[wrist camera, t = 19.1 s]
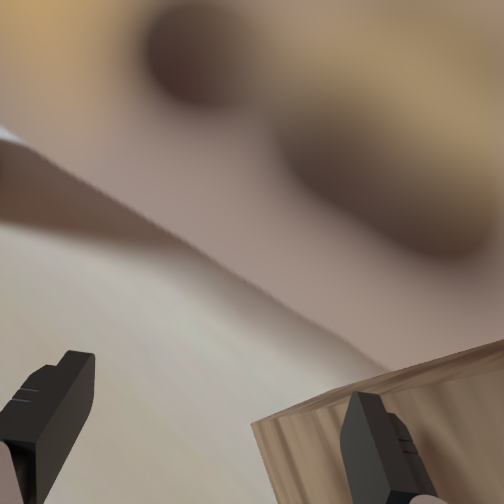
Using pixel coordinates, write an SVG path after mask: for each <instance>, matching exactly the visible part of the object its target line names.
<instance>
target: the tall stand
mask: <svg viewBox="0 0 504 504" xmlns="http://www.w3.org/2000/svg"><path fill="white" fill-rule="evenodd" d="M354 391H359V392H366V393H373V394H378V395H379V396H380V397H381V400H382V402H383V404H384V407H385V409H386V412H388V413H395V414H396V416H397V417H398V418H399V419H400V420H401V421H402V422H403V423H404V424H405V425H406V426H407V428H408V431H409V433H410V435H411V437H412V439H413V444H415V446H416V448H417V450H418V455H419V456H420V457H421V459H422V461H423V464H424V466H425V468H426V470H427V472H428V475H429V477H430V479H431V481H432V483H433V486H434V488H435V490H436V492H437V495H438V497H439V499H441V500H443V501H445V502H446V503H448V504H504V339H503V340H500V341H496V342H493V343H490V344H486V345H483V346H479V347H476V348H472V349H469V350H466V351H462V352H459V353H455V354H452V355H449V356H445V357H442V358H438V359H435V360H432V361H428V362H425V363H422V364H418V365H415V366H411V367H408V368H404V369H401V370H397V371H394V372H391V373H387V374H384V375H380V376H377V377H374V378H370V379H367V380H363V381H360V382H357V383H353V384H350V385H346V386H343V387H340V388H336V389H333V390H330V391H328V392H326V393H323V394H321V395H319V396H316V397H314V398H311V399H309V400H307V401H304V402H302V403H299V404H297V405H295V406H292V407H290V408H287V409H285V410H283V411H280V412H278V413H275V414H273V415H271V416H268V417H266V418H264V419H261V420H259V421H256V422H254V423H252V424H251V427H252V430H253V433H254V436H255V438H256V441H257V444H258V447H259V450H260V453H261V456H262V459H263V462H264V465H265V467H266V470H267V473H268V476H269V479H270V482H271V485H272V488H273V491H274V493H275V496H276V499H277V502H278V504H353V501H352V497H351V492H350V488H349V484H348V480H347V476H346V471H345V467H344V463H343V459H342V455H341V450H340V433H341V428H342V425H343V421H344V418H345V414H346V411H347V408H348V404H349V401H350V398H351V395H352V393H353V392H354Z"/></svg>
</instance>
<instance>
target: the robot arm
mask: <svg viewBox="0 0 504 504" xmlns="http://www.w3.org/2000/svg"><path fill="white" fill-rule="evenodd" d="M94 379H95V355H94V354H93V353H86V352H78V351H71V350H69V351H67V352H66V353H65V355H64V356H63V358H62V359H61V360H60V362H59V363H58V364H57V366H53V365H45V366H43V367H42V368H40V369H39V370H37V371H35V372H34V373H32V374H31V375H30V376H29V377H28V378H27V380H26V381H25V382H24V383H23V385H22V386H21V388H20V390H18V391H17V392H16V393H15V395H14V396H13V397H12V400H10V401H9V402H8V403H7V405H6V406H5V407H4V408H3V410H2V411H1V412H0V504H43V503H44V501H45V499H46V497H47V495H48V493H49V491H50V490H51V488H52V486H53V484H54V482H55V480H56V478H57V476H58V474H59V472H60V470H61V468H62V466H63V464H64V462H65V460H66V458H67V457H68V455H69V453H70V451H71V449H72V447H73V445H74V443H75V441H76V439H77V437H78V435H79V433H80V431H81V429H82V427H83V426H84V424H85V422H86V420H87V418H88V416H89V413H90V410H91V407H92V403H93V398H94ZM340 450H341V455H342V459H343V463H344V467H345V471H346V476H347V480H348V484H349V488H350V492H351V497H352V501H353V504H448V503H446V502H445V501H443V500H441V499H439V497H438V495H437V492H436V490H435V488H434V486H433V483H432V481H431V479H430V477H429V475H428V472H427V470H426V468H425V466H424V464H423V461H422V459H421V457H420V456H419V455H418V450H417V448H416V446H415V444H413V439H412V437H411V435H410V433H409V431H408V428H407V426H406V425H405V424H404V423H403V422H402V421H401V420H400V419H399V418H398V417H397V416H396V414H395V413H388V412H386V409H385V407H384V404H383V402H382V400H381V397H380V396H379V395H378V394H373V393H366V392H359V391H354V392H353V393H352V395H351V398H350V401H349V404H348V408H347V411H346V414H345V418H344V421H343V425H342V428H341V433H340Z"/></svg>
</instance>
